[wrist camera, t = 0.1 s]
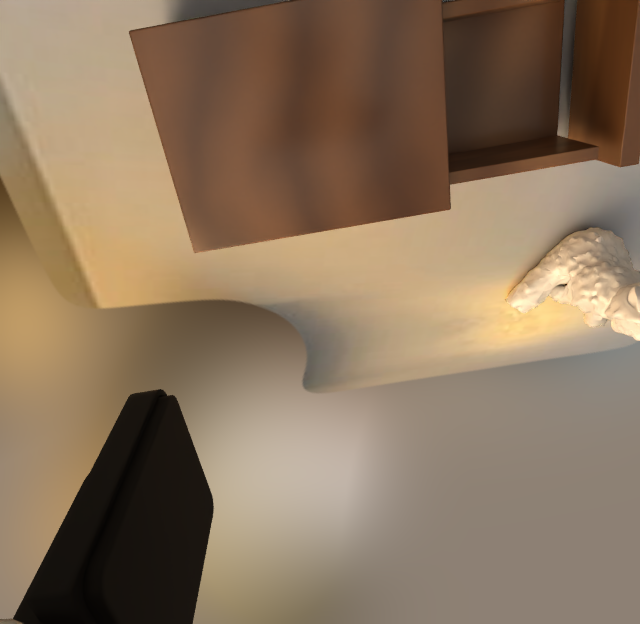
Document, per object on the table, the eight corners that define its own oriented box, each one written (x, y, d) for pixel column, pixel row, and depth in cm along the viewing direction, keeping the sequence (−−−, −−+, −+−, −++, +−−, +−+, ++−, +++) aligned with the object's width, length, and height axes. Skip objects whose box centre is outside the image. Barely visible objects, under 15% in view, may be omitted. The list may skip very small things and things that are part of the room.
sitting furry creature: (498, 302, 44) (564, 380, 33) (538, 209, 40) (626, 262, 29) (594, 321, 45) (687, 401, 34) (640, 232, 41) (762, 290, 30)
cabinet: (407, -7, 33) (441, -29, 25) (420, 181, 38) (451, 209, 31) (166, 38, 33) (127, 30, 26) (214, 216, 39) (194, 253, 31)
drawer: (663, -45, 32) (750, -71, 26) (640, 138, 37) (707, 152, 31) (361, 11, 32) (376, -1, 26) (379, 183, 38) (395, 205, 31)
